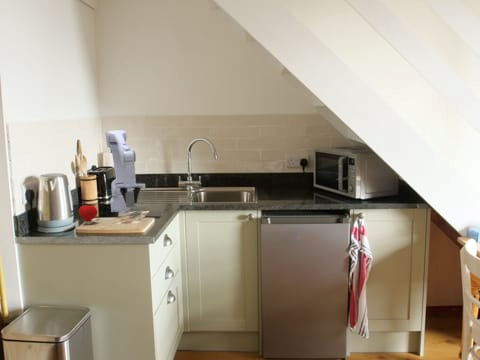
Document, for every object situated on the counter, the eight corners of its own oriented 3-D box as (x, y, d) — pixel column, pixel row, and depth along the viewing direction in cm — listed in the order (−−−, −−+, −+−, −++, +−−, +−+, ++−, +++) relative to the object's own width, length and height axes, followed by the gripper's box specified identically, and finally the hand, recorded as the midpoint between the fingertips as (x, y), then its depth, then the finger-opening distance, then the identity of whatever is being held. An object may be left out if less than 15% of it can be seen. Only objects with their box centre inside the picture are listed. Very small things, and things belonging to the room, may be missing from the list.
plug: (126, 207, 214) (125, 193, 213) (128, 205, 218) (127, 191, 217) (134, 207, 214) (133, 192, 213) (136, 205, 218) (135, 191, 217)
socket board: (112, 227, 205) (112, 223, 204) (127, 214, 230) (126, 211, 230) (138, 226, 205) (138, 222, 204) (150, 213, 230) (149, 210, 230)
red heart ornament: (76, 227, 206) (74, 206, 205) (86, 224, 213) (84, 203, 211) (92, 228, 203) (90, 207, 201) (102, 225, 209) (100, 204, 208)
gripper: (112, 177, 210) (114, 205, 212) (142, 176, 210) (144, 204, 212) (116, 175, 217) (118, 202, 219) (145, 174, 217) (147, 201, 219)
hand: (131, 202), depth 216 cm, fingers closed on plug, 4 cm apart
